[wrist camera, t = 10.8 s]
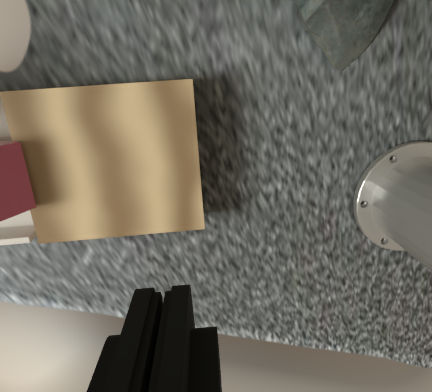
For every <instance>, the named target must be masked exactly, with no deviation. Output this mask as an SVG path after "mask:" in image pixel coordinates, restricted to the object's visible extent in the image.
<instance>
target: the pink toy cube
mask: <svg viewBox="0 0 432 392" xmlns="http://www.w3.org/2000/svg"><path fill="white" fill-rule="evenodd" d="M34 208H36V203H35V199H34V195H33V191H32V187H31V183H30V179H29V175H28V171H27V167H26V163H25V159H24V155H23V151H22V147H21V143H20V142H12V141H0V222H1V221H3V220H6V219H8V218H11V217H13V216H16V215H18V214H21V213H24V212H26V211H29V210H31V209H34Z"/></svg>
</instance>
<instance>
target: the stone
mask: <svg viewBox="0 0 432 392" xmlns="http://www.w3.org/2000/svg"><path fill="white" fill-rule="evenodd" d="M393 1H394V0H296V2H295V4H296V7H297V10H298V14H299V17H300V20H301V22H302V23H303V25H304V28H305V30H307V31H308V32H309V34H310V35H311V36H312V37H314V40H315V42H316V44H317V45H318V46H319V47H320V48H321V49H322V50H323V52H324V53H325V55H326V57H327V58H328V60H329V62H330V63H331V64H332V65H333V66H334V68H336V69H338V70H340V72H342V71H343V70H344V69H345V68H346V67H348V66H349V65H350V64H351V63H352V62H353V61H354V60H355V59H357V58H358V57H359V56H360V55H361V54H362V53H363V52H364V51H365V50H366V48H367V47H368V46H369V44H370V43H371V42H372V40H373V39H374V37H375V36H376V35H377V33H378V31H379V30H380V28H381V26H382V24H383V22H384V21H385V19H386V17H387V14H388V12H389V10H390V8H391V6H392V4H393Z"/></svg>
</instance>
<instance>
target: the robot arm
mask: <svg viewBox="0 0 432 392" xmlns="http://www.w3.org/2000/svg"><path fill="white" fill-rule="evenodd" d="M390 157H391V158H390ZM353 208H354V216H355V219H356V223H357V225H358V226H359V228H360V230H361V231H362V232H363V233H364V235H365V236H366V237H367V238H368V239H370V240H371V241H372V242H373V243H375V244H376V245H378V246H380V247H382V248H386V249H389V250H396V251H405V250H406V251H407V252H408V253H409V254H411V255H412V256H413V257H414V258H416V259H417V260H418V261H419V262H421V263H422V264H423V265H424V266H426V267H427V268H428V269H429V270H431V271H432V142H426V141H414V142H407V143H404V144H400V145H397V146H395V147H393V148H391V149H389V150H387V151H386V152H384V153H383V154H381V155H380V156H378V157H377V158H376V159H375V160H374V161H373V162H372V163H371V164H370V165H369V167H368V168H367V169H366V171H365V172H364V173H363V175H362V177H361V179H360V181H359V182H358V185H357V188H356V191H355V194H354V202H353ZM87 392H222V387H221V371H220V358H219V345H218V334H217V327H205V328H195V323H194V314H193V305H192V296H191V288H190V285H179V286H172V289H171V291H166V292H165V297H164V302H163V301H162V295H161V292H155V289H154V288H143V289H136V290H135V291H134V294H133V298H132V301H131V304H130V307H129V310H128V313H127V316H126V319H125V323H124V326H123V328H122V332H121V335H112V336H109V337H108V338H107V340H106V341H105V344H104V347H103V349H102V352H101V355H100V358H99V360H98V363H97V365H96V368H95V371H94V374H93V376H92V380H91V382H90V384H89V387H88V390H87Z"/></svg>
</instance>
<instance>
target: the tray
mask: <svg viewBox="0 0 432 392" xmlns="http://www.w3.org/2000/svg"><path fill="white" fill-rule="evenodd" d="M2 92H3V91H2ZM0 141H12V139H11V135H10V131H9V127H8V123H7V120H6V116H5V112H4V108H3V104H2V100H1V96H0ZM36 236H37V235H36V231H35V227H34V224H33V220H32V216H31V212H30V210H29V211H26V212H24V213H21V214H18V215H16V216H13V217H11V218H8V219H6V220H3V221H1V222H0V245H9V244H21V243H30V242H31V241H32V240H33V239H34V238H35V237H36Z"/></svg>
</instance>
